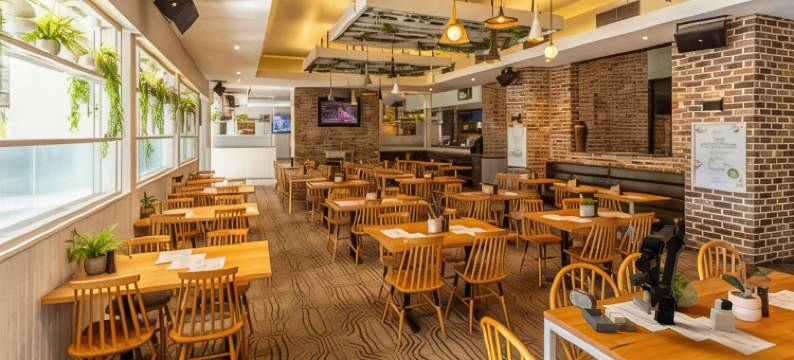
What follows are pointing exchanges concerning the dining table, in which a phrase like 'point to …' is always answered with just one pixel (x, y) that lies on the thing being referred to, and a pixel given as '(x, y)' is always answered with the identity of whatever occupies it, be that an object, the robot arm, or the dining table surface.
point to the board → (622, 324)
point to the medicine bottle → (723, 316)
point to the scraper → (645, 303)
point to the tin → (582, 298)
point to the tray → (598, 320)
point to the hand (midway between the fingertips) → (650, 305)
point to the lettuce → (683, 290)
